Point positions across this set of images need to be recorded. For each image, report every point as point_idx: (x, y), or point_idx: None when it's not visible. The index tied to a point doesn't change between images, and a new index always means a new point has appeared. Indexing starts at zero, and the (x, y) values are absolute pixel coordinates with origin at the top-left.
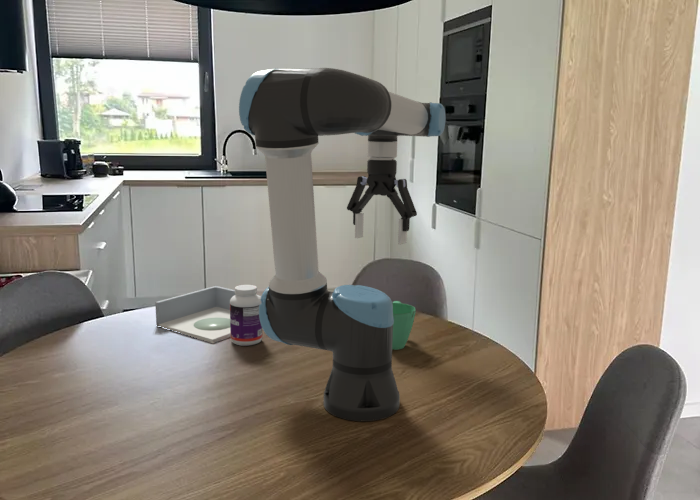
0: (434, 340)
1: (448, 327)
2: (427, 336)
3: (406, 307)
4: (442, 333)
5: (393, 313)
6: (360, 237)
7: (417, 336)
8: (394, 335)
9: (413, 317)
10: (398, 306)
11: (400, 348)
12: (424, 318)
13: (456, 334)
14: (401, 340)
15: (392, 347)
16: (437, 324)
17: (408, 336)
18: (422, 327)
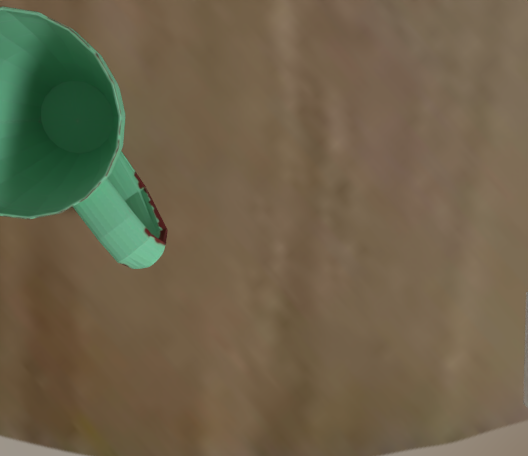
0: (22, 272)
1: (83, 418)
2: (69, 289)
3: (38, 213)
4: (54, 352)
5: (100, 174)
6: (525, 356)
7: (95, 263)
8: (13, 60)
9: None
10: (78, 198)
11: (40, 105)
12: (210, 437)
13: (12, 378)
14: (12, 93)
15: (56, 79)
16: (132, 417)
17: (6, 134)
18: (149, 354)
